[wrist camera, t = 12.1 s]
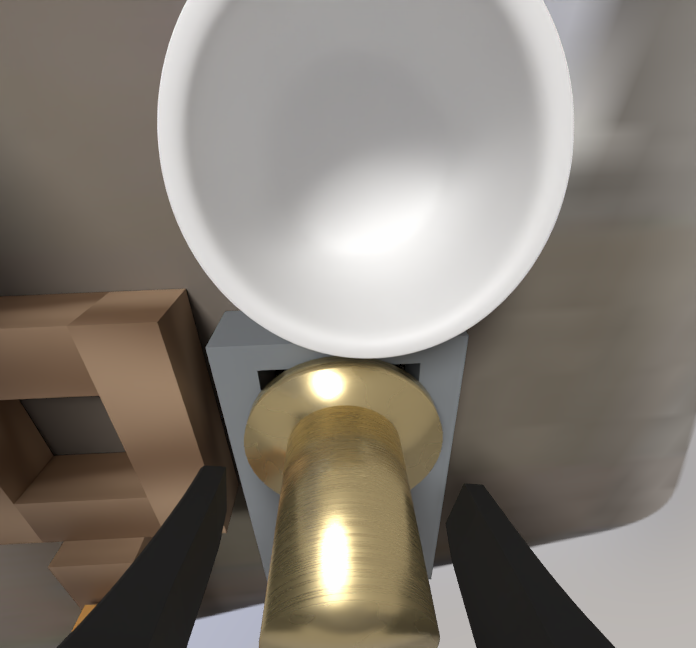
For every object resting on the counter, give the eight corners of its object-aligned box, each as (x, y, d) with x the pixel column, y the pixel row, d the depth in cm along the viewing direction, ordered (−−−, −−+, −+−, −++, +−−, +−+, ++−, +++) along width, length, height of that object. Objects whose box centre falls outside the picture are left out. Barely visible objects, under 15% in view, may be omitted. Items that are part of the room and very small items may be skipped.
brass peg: (228, 357, 15) (113, 618, 7) (385, 287, 14) (454, 515, 6) (309, 461, 18) (290, 720, 10) (443, 413, 17) (537, 668, 9)
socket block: (-121, 301, 13) (-262, 358, 10) (185, 288, 13) (140, 341, 10) (55, 541, 21) (5, 616, 18) (251, 530, 21) (236, 604, 18)
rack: (225, 311, 14) (205, 347, 12) (447, 301, 14) (468, 335, 12) (275, 539, 21) (268, 587, 19) (421, 532, 22) (431, 579, 19)
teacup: (504, 216, 13) (606, 276, 8) (308, 307, 14) (296, 402, 9) (393, -199, 8) (477, -631, 3) (120, -1, 10) (-87, -111, 5)
